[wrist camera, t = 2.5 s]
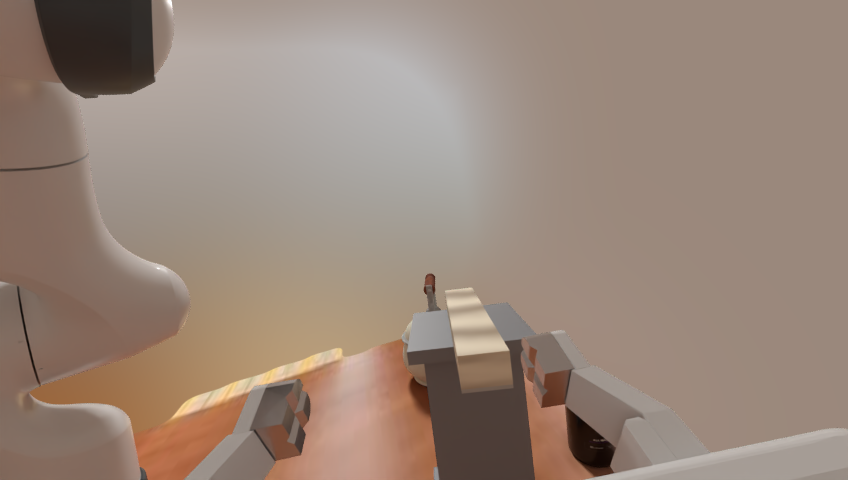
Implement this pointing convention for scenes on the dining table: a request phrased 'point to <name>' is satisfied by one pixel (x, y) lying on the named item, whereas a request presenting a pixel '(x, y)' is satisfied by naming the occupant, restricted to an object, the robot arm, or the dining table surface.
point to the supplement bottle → (587, 442)
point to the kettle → (413, 369)
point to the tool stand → (474, 403)
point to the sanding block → (477, 344)
